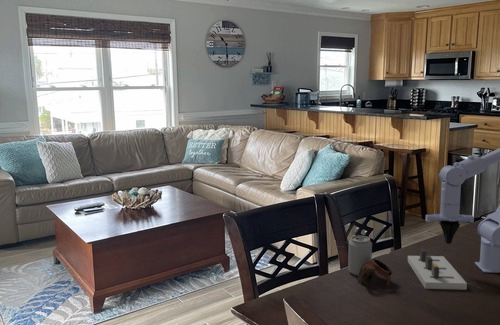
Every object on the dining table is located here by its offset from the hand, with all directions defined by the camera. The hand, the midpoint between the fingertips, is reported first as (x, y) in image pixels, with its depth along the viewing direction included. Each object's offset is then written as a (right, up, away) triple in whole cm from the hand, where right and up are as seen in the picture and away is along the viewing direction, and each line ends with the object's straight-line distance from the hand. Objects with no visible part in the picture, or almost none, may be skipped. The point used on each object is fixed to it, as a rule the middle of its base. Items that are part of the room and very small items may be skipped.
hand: (448, 242), depth 146 cm
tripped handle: (-8, -9, -9) cm, 15 cm away
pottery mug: (-27, -12, -7) cm, 30 cm away
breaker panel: (-5, -10, -2) cm, 11 cm away
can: (-29, -10, +1) cm, 31 cm away
